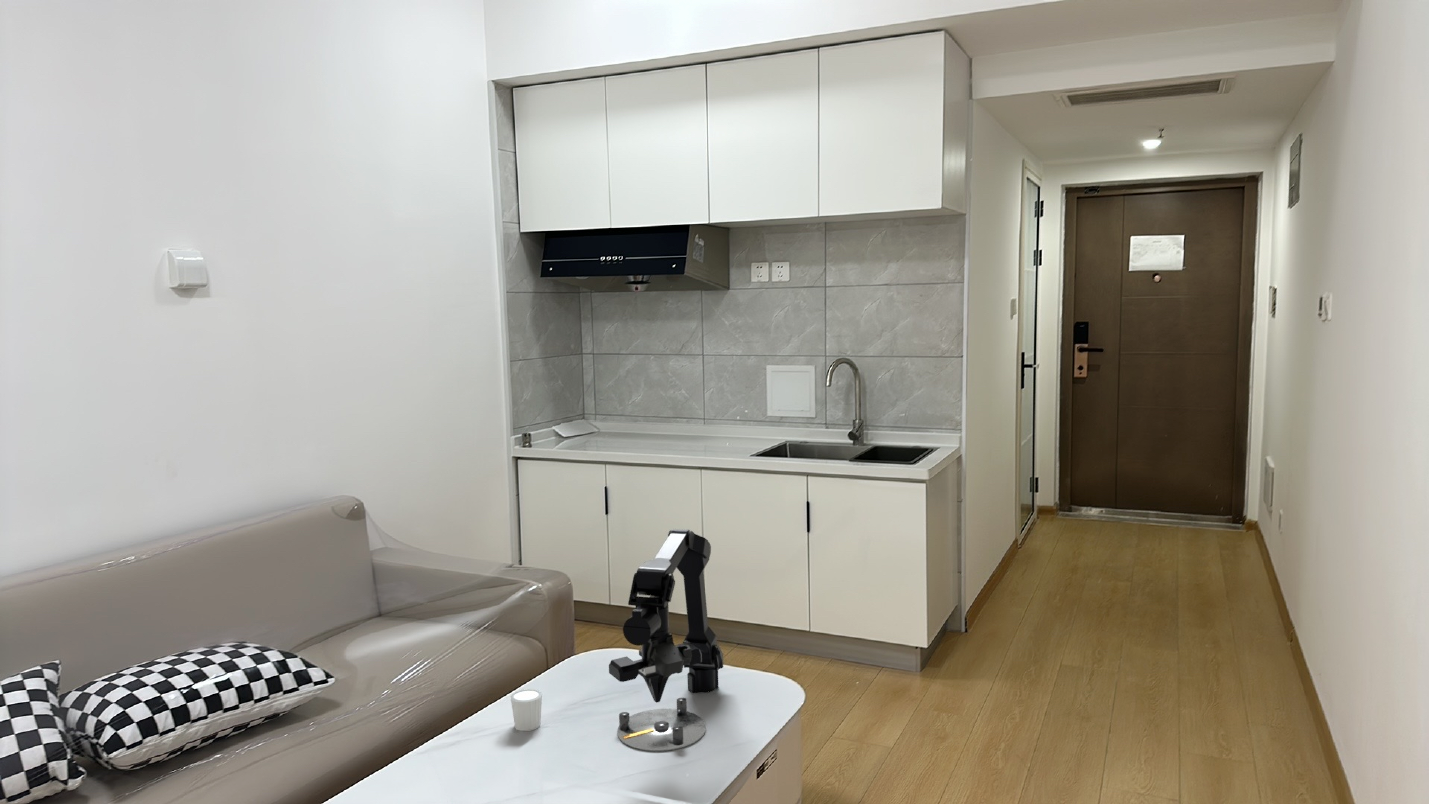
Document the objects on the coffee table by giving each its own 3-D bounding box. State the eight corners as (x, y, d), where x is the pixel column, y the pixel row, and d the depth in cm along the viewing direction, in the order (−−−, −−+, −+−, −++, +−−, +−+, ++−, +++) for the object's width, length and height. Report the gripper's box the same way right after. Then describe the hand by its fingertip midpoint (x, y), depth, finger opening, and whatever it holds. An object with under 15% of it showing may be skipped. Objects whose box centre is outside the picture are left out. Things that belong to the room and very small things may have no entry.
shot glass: (516, 735, 204) (515, 704, 203) (508, 722, 210) (506, 692, 209) (547, 727, 207) (545, 697, 206) (538, 715, 213) (536, 686, 212)
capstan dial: (681, 703, 216) (680, 688, 215) (721, 737, 199) (721, 720, 199) (604, 723, 207) (603, 707, 206) (639, 760, 190) (638, 742, 190)
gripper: (630, 649, 179) (633, 728, 181) (714, 630, 188) (716, 705, 190) (606, 632, 189) (609, 707, 190) (687, 614, 198) (689, 686, 200)
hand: (657, 701), depth 192 cm, fingers closed
